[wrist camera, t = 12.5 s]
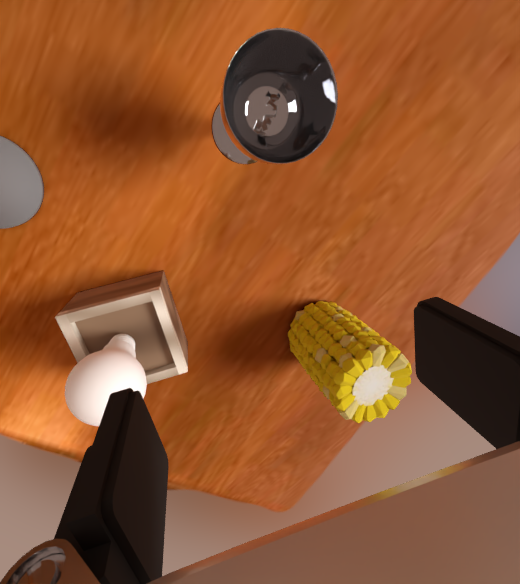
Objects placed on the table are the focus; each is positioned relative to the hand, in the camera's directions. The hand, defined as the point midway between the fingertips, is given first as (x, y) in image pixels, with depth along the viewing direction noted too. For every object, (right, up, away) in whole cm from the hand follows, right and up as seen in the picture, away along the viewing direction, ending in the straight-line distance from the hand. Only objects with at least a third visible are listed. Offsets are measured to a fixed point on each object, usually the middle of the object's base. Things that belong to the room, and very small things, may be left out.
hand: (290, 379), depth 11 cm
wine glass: (-3, +21, +25) cm, 33 cm away
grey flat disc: (-28, +14, +22) cm, 38 cm away
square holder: (-16, 0, +29) cm, 34 cm away
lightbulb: (-15, -2, +24) cm, 29 cm away
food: (+8, -2, +36) cm, 37 cm away
